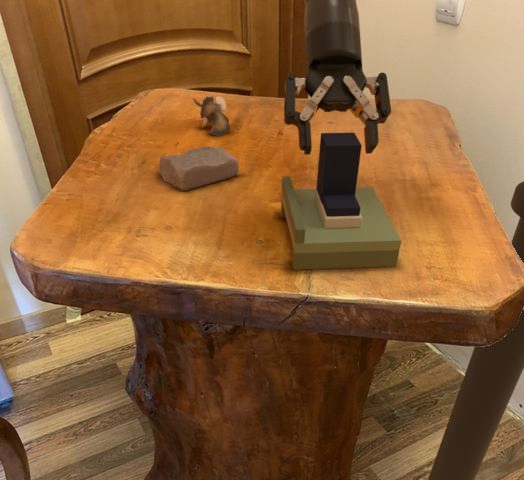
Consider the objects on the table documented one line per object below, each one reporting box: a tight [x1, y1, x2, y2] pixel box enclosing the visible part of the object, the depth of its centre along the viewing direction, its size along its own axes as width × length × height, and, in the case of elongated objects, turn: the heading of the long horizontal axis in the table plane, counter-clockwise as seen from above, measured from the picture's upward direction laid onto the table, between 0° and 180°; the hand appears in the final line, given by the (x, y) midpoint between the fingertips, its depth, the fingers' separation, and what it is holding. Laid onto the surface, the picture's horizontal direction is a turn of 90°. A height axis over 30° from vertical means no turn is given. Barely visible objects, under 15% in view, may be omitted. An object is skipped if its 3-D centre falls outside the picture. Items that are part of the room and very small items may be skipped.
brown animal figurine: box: [192, 95, 231, 137], centre depth 112 cm, size 8×7×9 cm
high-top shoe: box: [314, 132, 363, 228], centre depth 75 cm, size 9×5×10 cm, turn 5°
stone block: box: [158, 146, 240, 192], centre depth 95 cm, size 12×5×10 cm
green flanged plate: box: [280, 175, 402, 271], centre depth 78 cm, size 14×16×6 cm
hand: (339, 151), depth 75 cm, fingers open, 8 cm apart
